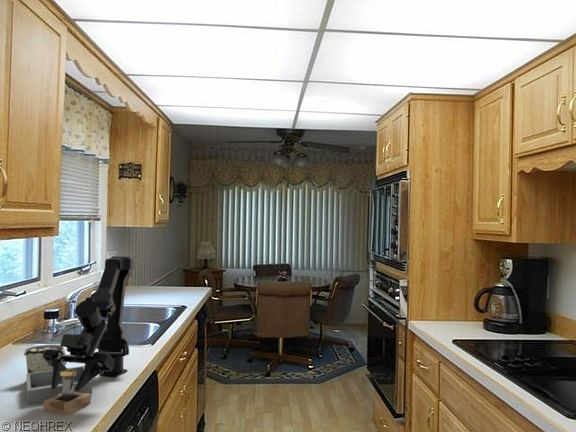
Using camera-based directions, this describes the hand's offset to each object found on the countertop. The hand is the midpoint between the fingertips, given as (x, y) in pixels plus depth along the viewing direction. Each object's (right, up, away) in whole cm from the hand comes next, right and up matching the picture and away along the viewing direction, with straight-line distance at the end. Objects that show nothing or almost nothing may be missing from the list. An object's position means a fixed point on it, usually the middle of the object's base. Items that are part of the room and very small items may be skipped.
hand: (64, 389), depth 123 cm
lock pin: (0, -5, +1) cm, 5 cm away
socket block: (0, -7, +1) cm, 7 cm away
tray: (-8, -7, +14) cm, 18 cm away
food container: (-19, -7, +28) cm, 34 cm away
